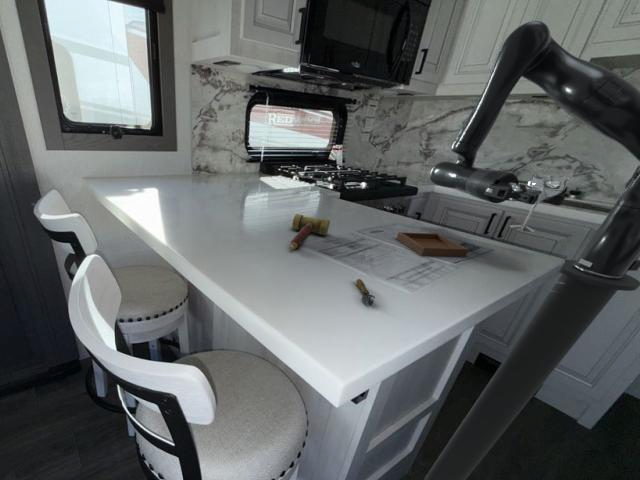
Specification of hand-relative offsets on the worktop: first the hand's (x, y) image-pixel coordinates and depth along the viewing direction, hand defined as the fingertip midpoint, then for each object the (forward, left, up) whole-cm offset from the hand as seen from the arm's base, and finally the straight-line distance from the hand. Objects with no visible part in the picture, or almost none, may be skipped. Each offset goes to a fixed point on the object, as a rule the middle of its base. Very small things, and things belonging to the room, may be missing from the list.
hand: (548, 200), depth 68 cm
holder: (+13, -13, -16) cm, 25 cm away
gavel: (+49, -16, -17) cm, 55 cm away
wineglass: (0, -2, -7) cm, 8 cm away
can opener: (+45, +14, -17) cm, 50 cm away
